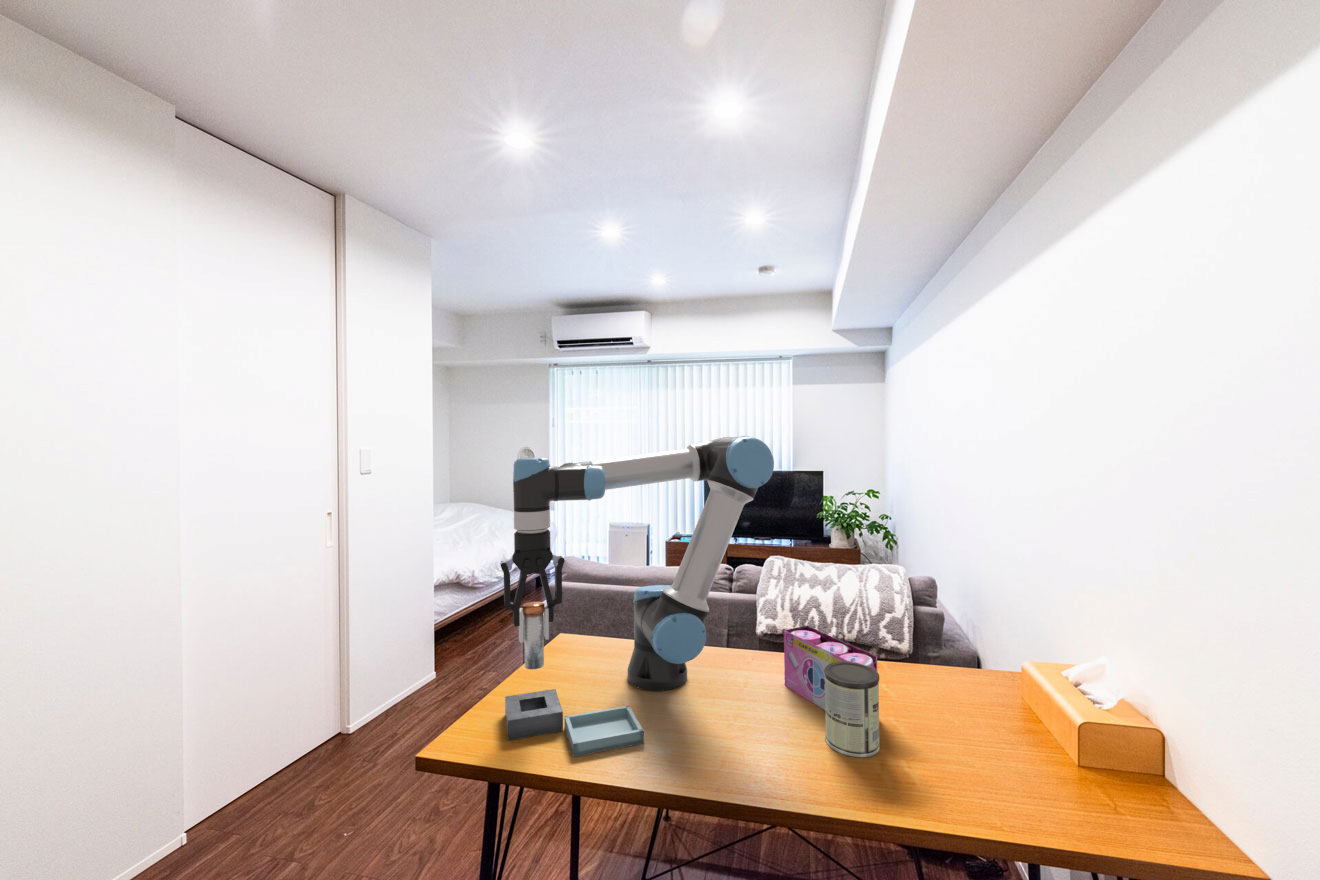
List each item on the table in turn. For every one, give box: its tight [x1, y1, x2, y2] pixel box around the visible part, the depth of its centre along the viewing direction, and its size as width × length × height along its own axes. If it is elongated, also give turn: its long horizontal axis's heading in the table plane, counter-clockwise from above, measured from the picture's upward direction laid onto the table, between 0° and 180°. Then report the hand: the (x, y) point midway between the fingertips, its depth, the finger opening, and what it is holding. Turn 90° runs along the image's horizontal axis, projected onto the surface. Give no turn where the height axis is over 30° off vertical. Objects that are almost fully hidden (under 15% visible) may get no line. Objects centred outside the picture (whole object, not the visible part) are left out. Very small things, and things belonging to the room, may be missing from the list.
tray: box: [564, 705, 645, 757], centre depth 111 cm, size 14×11×2 cm
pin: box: [521, 601, 545, 670], centre depth 117 cm, size 5×5×13 cm
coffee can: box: [824, 662, 881, 758], centre depth 108 cm, size 10×10×14 cm
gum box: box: [783, 625, 879, 711], centre depth 125 cm, size 24×8×14 cm, turn 26°
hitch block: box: [504, 688, 564, 741], centre depth 116 cm, size 11×11×4 cm
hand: (534, 638), depth 117 cm, fingers closed on pin, 4 cm apart
